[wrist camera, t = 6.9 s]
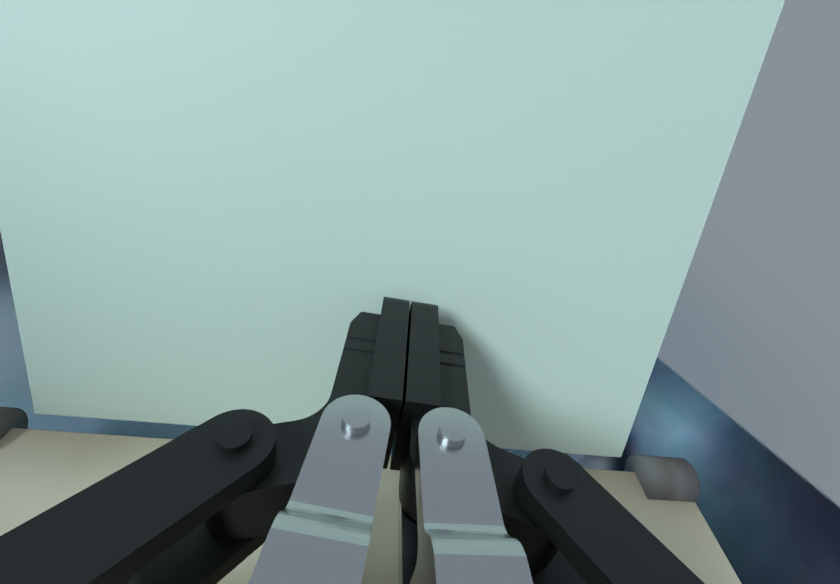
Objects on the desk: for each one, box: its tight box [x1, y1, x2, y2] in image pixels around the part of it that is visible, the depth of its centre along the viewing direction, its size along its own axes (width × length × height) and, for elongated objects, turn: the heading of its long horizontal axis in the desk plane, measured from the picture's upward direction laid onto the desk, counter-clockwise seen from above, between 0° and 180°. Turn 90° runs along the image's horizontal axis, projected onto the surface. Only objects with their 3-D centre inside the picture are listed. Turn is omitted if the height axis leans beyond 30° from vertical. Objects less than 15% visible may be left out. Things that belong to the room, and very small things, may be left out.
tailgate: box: [0, 0, 785, 457], centre depth 12 cm, size 2×18×14 cm, turn 91°
